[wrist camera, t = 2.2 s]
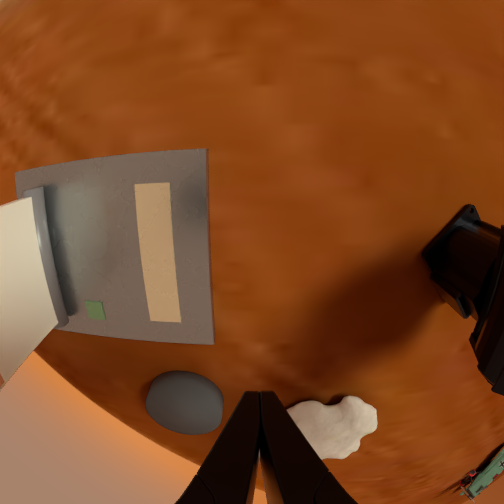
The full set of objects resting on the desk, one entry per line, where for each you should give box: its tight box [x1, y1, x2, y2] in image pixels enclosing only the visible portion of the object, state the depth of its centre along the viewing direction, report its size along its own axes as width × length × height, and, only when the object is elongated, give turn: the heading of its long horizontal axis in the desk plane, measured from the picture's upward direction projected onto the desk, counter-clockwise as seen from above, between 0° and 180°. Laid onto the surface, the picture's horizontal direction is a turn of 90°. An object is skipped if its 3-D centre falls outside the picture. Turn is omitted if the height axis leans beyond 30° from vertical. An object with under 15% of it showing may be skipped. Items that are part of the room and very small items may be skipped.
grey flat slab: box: [15, 149, 215, 345], centre depth 20 cm, size 16×14×1 cm
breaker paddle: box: [0, 187, 69, 390], centre depth 14 cm, size 2×11×11 cm, turn 179°
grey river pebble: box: [145, 371, 223, 435], centre depth 24 cm, size 7×7×2 cm
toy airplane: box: [459, 449, 504, 504], centre depth 37 cm, size 22×25×11 cm
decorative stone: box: [259, 396, 377, 460], centre depth 26 cm, size 11×4×15 cm
